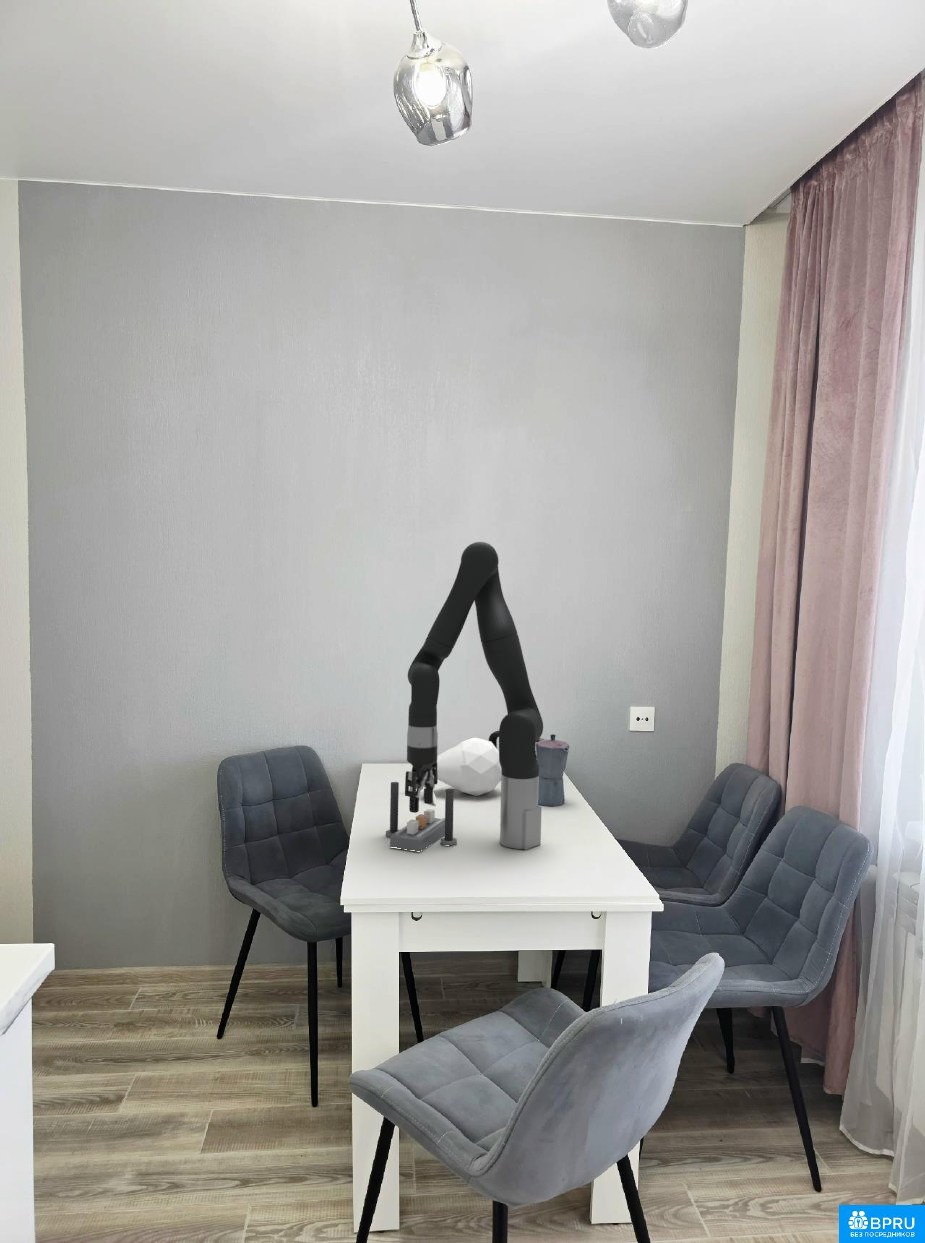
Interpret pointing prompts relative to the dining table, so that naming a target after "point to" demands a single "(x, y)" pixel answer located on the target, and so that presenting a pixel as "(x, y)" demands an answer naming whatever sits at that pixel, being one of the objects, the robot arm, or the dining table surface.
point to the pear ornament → (470, 767)
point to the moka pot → (551, 770)
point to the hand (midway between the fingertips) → (421, 807)
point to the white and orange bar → (420, 821)
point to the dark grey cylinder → (449, 819)
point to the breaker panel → (419, 836)
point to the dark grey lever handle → (393, 809)
